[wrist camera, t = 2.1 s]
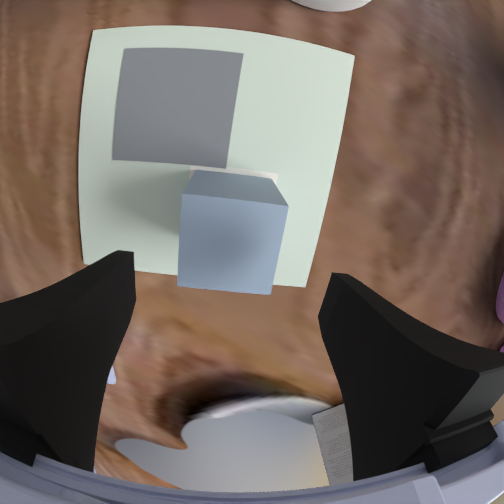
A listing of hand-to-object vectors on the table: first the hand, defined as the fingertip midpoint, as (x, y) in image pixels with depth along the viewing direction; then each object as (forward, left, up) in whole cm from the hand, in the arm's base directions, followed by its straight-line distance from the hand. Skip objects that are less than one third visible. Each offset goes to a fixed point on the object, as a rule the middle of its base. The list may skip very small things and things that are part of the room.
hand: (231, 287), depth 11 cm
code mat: (-2, +3, -9) cm, 10 cm away
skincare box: (+15, -22, -9) cm, 28 cm away
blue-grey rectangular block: (0, 0, -9) cm, 9 cm away
